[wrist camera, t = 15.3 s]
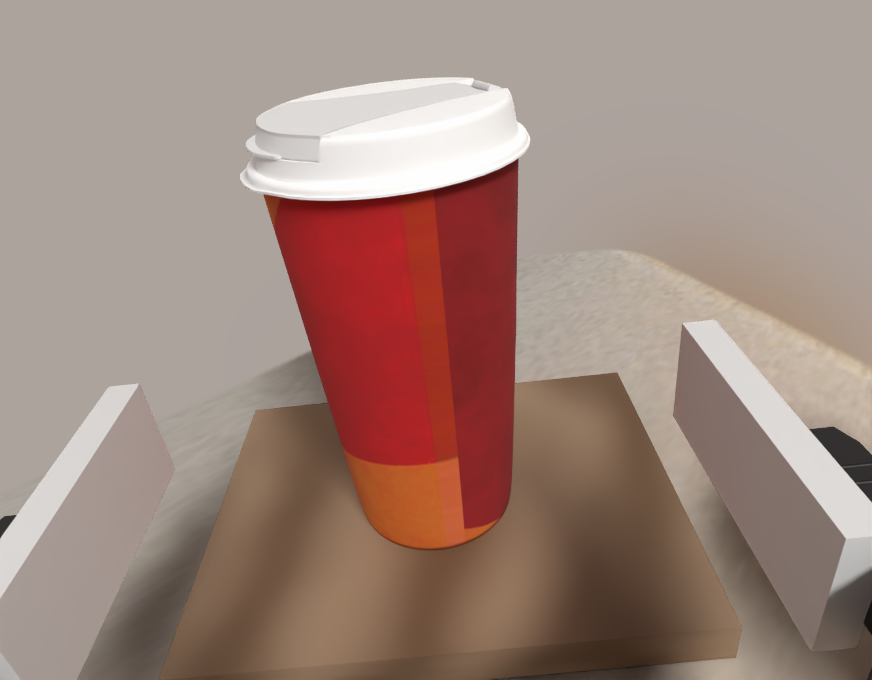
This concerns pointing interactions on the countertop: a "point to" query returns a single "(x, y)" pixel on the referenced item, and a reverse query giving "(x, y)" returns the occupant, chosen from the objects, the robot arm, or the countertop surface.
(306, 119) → the coffee cup
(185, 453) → the countertop surface
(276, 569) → the walnut board
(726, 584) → the countertop surface
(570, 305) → the countertop surface
